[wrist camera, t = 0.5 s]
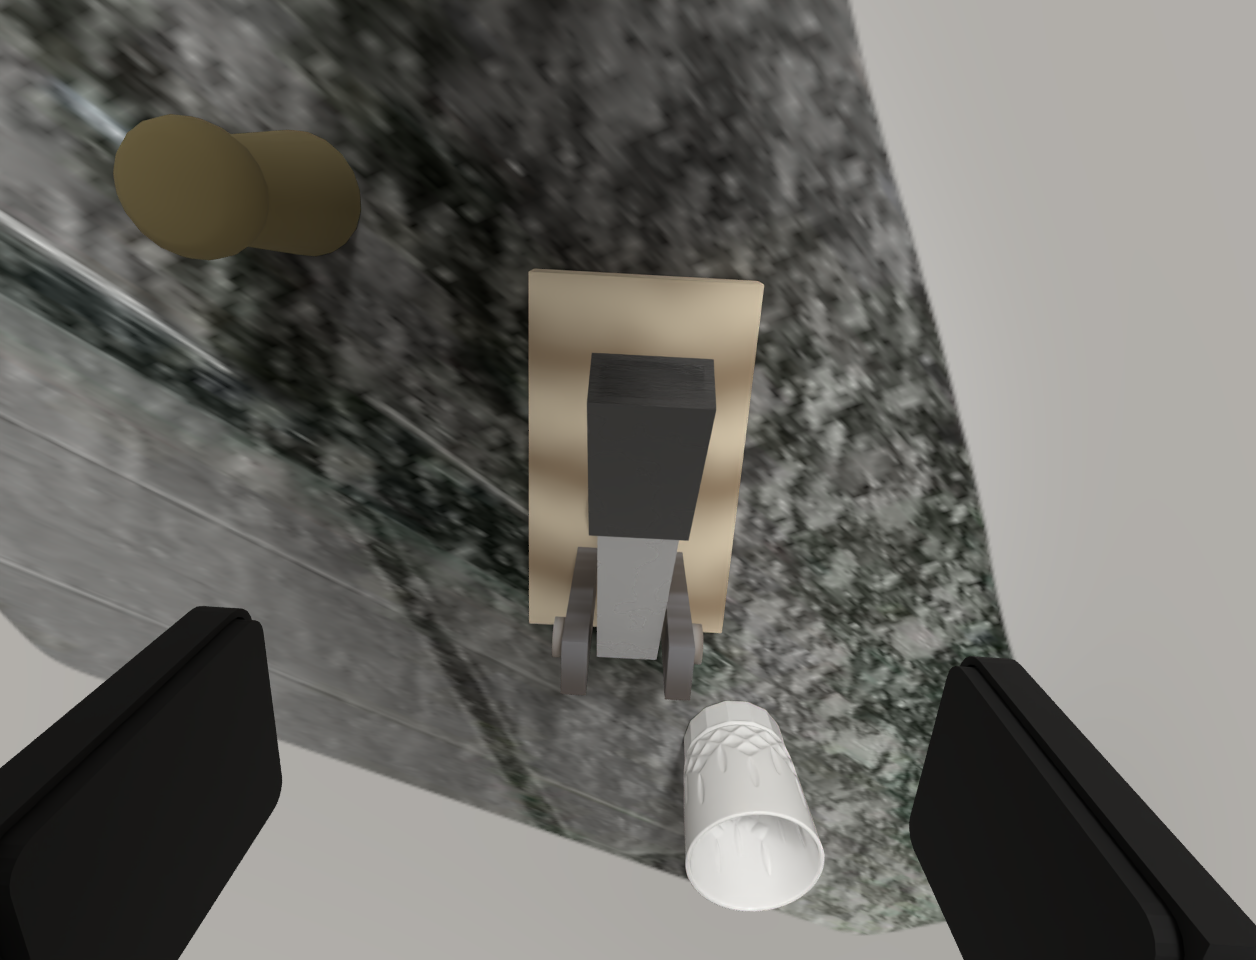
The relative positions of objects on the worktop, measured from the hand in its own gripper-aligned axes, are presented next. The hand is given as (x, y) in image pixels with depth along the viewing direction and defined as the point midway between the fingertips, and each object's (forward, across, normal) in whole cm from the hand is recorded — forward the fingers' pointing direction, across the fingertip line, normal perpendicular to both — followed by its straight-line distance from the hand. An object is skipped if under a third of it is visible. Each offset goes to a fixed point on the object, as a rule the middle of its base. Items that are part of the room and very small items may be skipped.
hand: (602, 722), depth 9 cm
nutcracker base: (+31, -1, +6) cm, 31 cm away
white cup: (+32, -9, +26) cm, 42 cm away
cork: (+30, +17, -7) cm, 36 cm away
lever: (+19, -1, +4) cm, 20 cm away
